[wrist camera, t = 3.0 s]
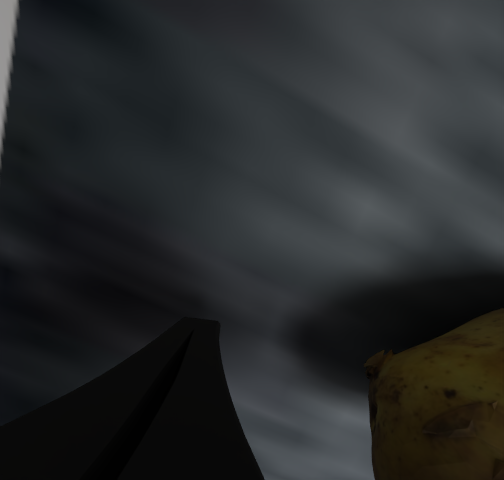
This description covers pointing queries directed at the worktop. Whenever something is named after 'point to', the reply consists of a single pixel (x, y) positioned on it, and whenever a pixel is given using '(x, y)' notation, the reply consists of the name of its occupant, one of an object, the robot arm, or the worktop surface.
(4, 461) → the robot arm
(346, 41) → the worktop surface
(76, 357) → the worktop surface
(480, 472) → the potato
